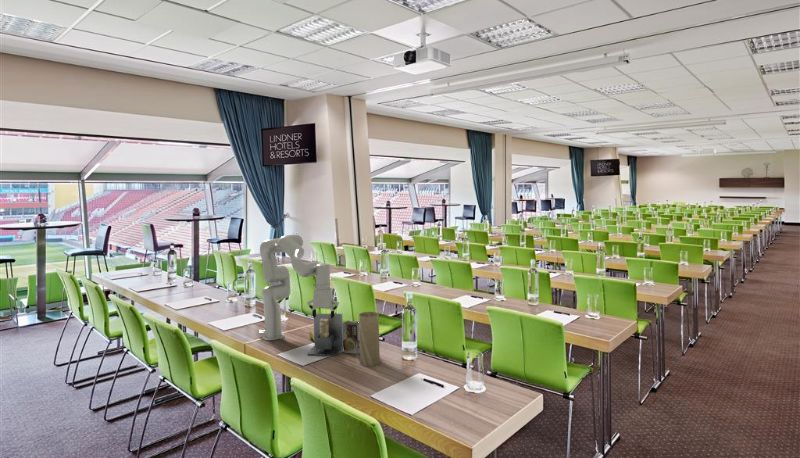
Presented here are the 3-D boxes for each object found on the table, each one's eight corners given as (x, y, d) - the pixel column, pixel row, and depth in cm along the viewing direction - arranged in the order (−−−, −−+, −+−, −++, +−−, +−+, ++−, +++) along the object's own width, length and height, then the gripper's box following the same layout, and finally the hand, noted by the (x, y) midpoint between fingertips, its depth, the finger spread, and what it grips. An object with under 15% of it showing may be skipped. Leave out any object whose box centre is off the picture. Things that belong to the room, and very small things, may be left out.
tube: (366, 367, 237) (365, 318, 235) (356, 361, 245) (355, 314, 243) (383, 363, 243) (382, 314, 240) (372, 357, 251) (371, 310, 249)
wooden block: (320, 346, 258) (319, 320, 257) (321, 343, 262) (321, 318, 261) (327, 346, 258) (326, 320, 257) (329, 343, 262) (328, 318, 261)
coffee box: (362, 350, 262) (362, 321, 261) (358, 354, 256) (357, 324, 255) (347, 348, 265) (347, 320, 264) (342, 352, 259) (342, 323, 258)
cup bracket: (307, 355, 255) (306, 320, 254) (315, 345, 271) (314, 313, 269) (336, 356, 253) (335, 321, 252) (343, 346, 269) (342, 313, 268)
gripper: (305, 287, 254) (305, 319, 256) (337, 288, 253) (337, 320, 254) (309, 284, 262) (309, 315, 264) (340, 285, 260) (340, 316, 262)
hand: (323, 317), depth 259 cm, fingers open, 9 cm apart
